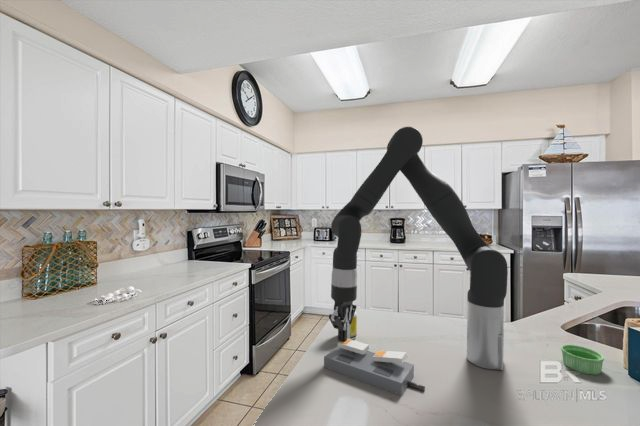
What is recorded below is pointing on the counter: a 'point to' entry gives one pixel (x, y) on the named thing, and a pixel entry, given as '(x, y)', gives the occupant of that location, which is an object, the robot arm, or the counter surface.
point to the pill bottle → (352, 328)
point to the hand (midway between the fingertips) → (342, 340)
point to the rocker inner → (390, 356)
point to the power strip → (372, 370)
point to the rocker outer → (354, 346)
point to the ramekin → (582, 359)
